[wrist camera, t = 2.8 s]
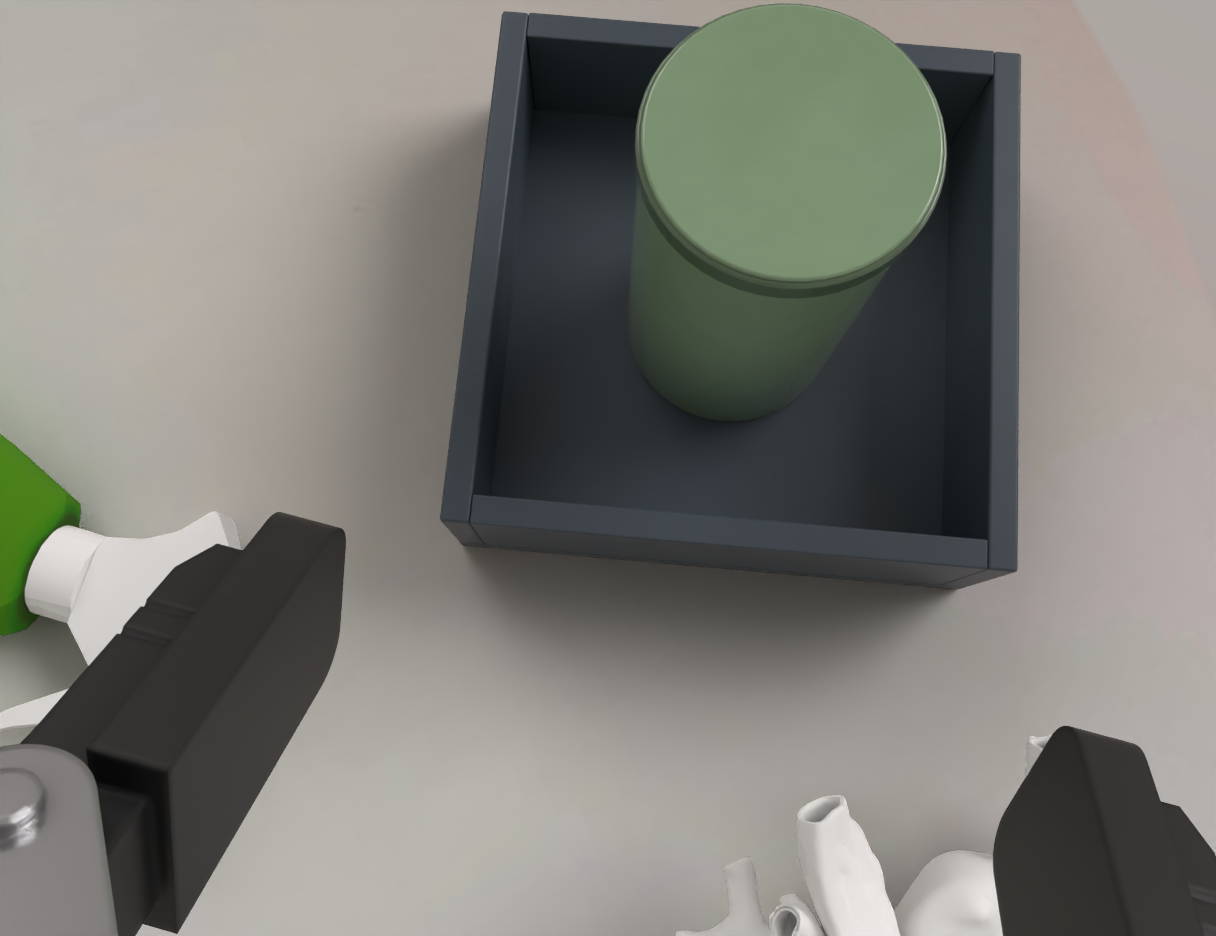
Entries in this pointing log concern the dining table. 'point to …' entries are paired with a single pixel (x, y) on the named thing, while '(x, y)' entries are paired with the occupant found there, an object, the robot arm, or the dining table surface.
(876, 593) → the dining table surface
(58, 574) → the spray bottle
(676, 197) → the canister
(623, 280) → the tray
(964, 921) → the heart
